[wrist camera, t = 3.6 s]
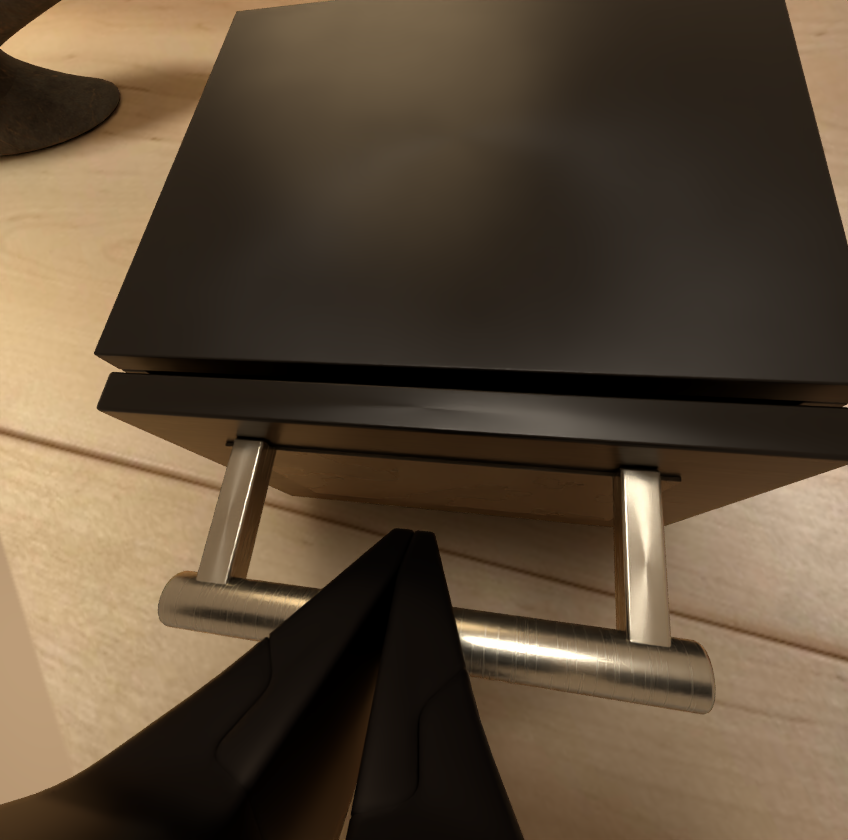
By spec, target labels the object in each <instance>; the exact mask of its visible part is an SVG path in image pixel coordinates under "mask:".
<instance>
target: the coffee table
mask: <svg viewBox="0 0 848 840" xmlns="http://www.w3.org/2000/svg"><path fill="white" fill-rule="evenodd" d="M60 1H61V0H0V46H1V45H2V44H3V43H4V42H6V41H7V40H8V39H9V38H10V37H11V36H13V35H14V34H15V33H16V32H18V31H19V30H20V29H22V28H23V27H24V26H26V25H27V24H28V23H30V22H31V21H32V20H34V19H35V18H37V17H38V16H39V15H41V14H42V13H44V12H45V11H47V10H48V9H49V8H51V7H52V6H54V5H55V4H57V3H58V2H60ZM119 99H120V93H119V90H118V88H117V87H116V86H115V85H114V84H113V83H111V82H109V81H106V80H103V79H99V78H92V77H84V76H77V75H71V74H66V73H62V72H57V71H53V70H49V69H46V68H42V67H39V66H35V65H32V64H29V63H26V62H23V61H21V60H18V59H16V58H13V57H12V56H10V55H8V54H6V53H5V52H3V51H2V50H1V49H0V155H11V154H18V153H23V152H29V151H34V150H38V149H42V148H46V147H49V146H52V145H55V144H58V143H61V142H64V141H66V140H69V139H71V138H74V137H76V136H78V135H80V134H82V133H84V132H86V131H88V130H90V129H92V128H93V127H95V126H96V125H98V124H99V123H101V122H102V121H103V120H105V119H106V118H107V117H108V116H109V115H110V114H111V113H112V112H113V110H114V109H115V108H116V107H117V104H118V102H119Z"/></svg>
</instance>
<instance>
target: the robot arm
mask: <svg viewBox="0 0 848 840" xmlns="http://www.w3.org/2000/svg"><path fill="white" fill-rule="evenodd" d="M356 783H357V784H356ZM355 787H356V789H355ZM354 790H355V794H354V800H353V805H352V810H351V819H350V821H349V826H348V831H347V836H346V840H524V837H523V835H522V832H521V830H520V827H519V824H518V822H517V819H516V816H515V814H514V811H513V809H512V806H511V803H510V801H509V798H508V795H507V793H506V790H505V787H504V785H503V782H502V780H501V777H500V774H499V772H498V769H497V766H496V764H495V761H494V758H493V756H492V753H491V750H490V747H489V744H488V741H487V738H486V735H485V732H484V729H483V726H482V723H481V720H480V717H479V713H478V709H477V706H476V702H475V698H474V695H473V691H472V687H471V683H470V678H469V674H468V671H467V670H466V663H465V658H464V654H463V650H462V646H461V642H460V637H459V633H458V629H457V625H456V620H455V616H454V612H453V608H452V604H451V599H450V595H449V591H448V587H447V583H446V578H445V574H444V570H443V566H442V562H441V557H440V553H439V549H438V545H437V541H436V536H435V534H434V533H433V532H428V531H419V530H417V531H415V532H414V531H413V530H410V529H401V528H395V529H393V530H392V531H390V532H389V533H388V534H387V535H386V536H384V537H383V538H382V539H381V540H380V541H378V542H377V543H376V544H375V545H374V546H373V547H371V548H370V549H369V550H368V551H367V552H365V553H364V554H363V555H362V556H361V557H360V558H358V559H357V560H356V561H355V562H354V563H352V564H351V565H350V566H349V567H348V568H346V569H345V570H344V571H343V572H342V573H341V574H339V575H338V576H337V577H336V578H335V579H333V580H332V581H331V582H330V583H329V584H327V585H326V586H325V587H324V588H323V589H322V590H320V591H319V592H318V593H317V594H316V595H314V596H313V597H312V598H311V599H310V600H309V601H307V602H306V603H305V604H304V605H303V606H301V607H300V608H299V609H298V610H297V611H295V612H294V613H293V614H292V615H291V616H290V617H288V618H287V619H286V620H285V621H284V622H282V623H281V624H280V625H279V626H278V627H277V628H275V629H274V630H273V631H272V632H271V633H270V634H269V638H268V637H264V638H263V639H262V640H261V641H260V642H258V643H257V644H256V645H255V646H254V647H253V648H251V649H250V650H249V651H248V652H247V653H245V654H244V655H243V656H242V657H240V658H239V659H238V660H237V661H235V662H234V663H233V664H232V665H230V666H229V667H228V668H227V669H225V670H224V671H223V672H222V673H220V674H219V675H218V676H216V677H215V678H214V679H212V680H211V681H210V682H208V683H207V684H206V685H204V686H203V687H202V688H200V689H199V690H197V691H196V692H195V693H193V694H192V695H191V696H189V697H188V698H187V699H185V700H184V701H182V702H181V703H180V704H178V705H177V706H175V707H174V708H173V709H171V710H170V711H168V712H167V713H165V714H164V715H163V716H161V717H160V718H158V719H157V720H156V721H154V722H153V723H151V724H150V725H149V726H147V727H146V728H144V729H143V730H142V731H140V732H139V733H137V734H136V735H135V736H133V737H132V738H130V739H129V740H127V741H126V742H125V743H123V744H122V745H120V746H119V747H118V748H116V749H115V750H113V751H112V752H111V753H109V754H108V755H106V756H105V757H103V758H102V759H100V760H99V761H97V762H96V763H94V764H93V765H91V766H90V767H88V768H87V769H85V770H83V771H82V772H80V773H78V774H76V775H75V776H73V777H71V778H69V779H67V780H65V781H63V782H61V783H59V784H57V785H55V786H53V787H51V788H48V789H46V790H43V791H41V792H39V793H36V794H33V795H30V796H27V797H24V798H21V799H18V800H14V801H11V802H8V803H4V804H2V805H0V840H339V837H340V834H341V830H342V827H343V824H344V821H345V818H346V815H347V812H348V808H349V805H350V802H351V799H352V796H353V793H354Z"/></svg>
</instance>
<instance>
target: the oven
mask: <svg viewBox="0 0 848 840" xmlns="http://www.w3.org/2000/svg"><path fill="white" fill-rule="evenodd" d="M94 355H96V356H98V357H99V358H101V359H103V360H105V361H106V362H108V363H110V364H112V365H113V366H115V367H117V368H118V369H122V370H123V371H125V372H126V373H144V374H165V375H185V376H206V377H227V378H248V379H269V380H289V381H310V382H331V383H352V384H372V385H393V386H414V387H435V388H455V389H476V390H497V391H518V392H538V393H559V394H580V395H601V396H621V397H642V398H663V399H684V400H705V401H725V402H746V403H767V404H788V405H808V406H829V407H843V406H845V405H847V404H848V244H847V240H846V236H845V232H844V228H843V224H842V220H841V216H840V213H839V209H838V205H837V201H836V197H835V193H834V189H833V185H832V181H831V178H830V174H829V170H828V166H827V162H826V158H825V154H824V150H823V146H822V143H821V139H820V135H819V131H818V127H817V123H816V119H815V115H814V111H813V108H812V104H811V100H810V96H809V92H808V88H807V84H806V80H805V76H804V73H803V69H802V65H801V61H800V57H799V53H798V49H797V45H796V41H795V38H794V34H793V30H792V26H791V22H790V18H789V14H788V10H787V6H786V3H785V0H332V1H323V2H314V3H306V4H297V5H288V6H280V7H271V8H262V9H254V10H245V11H237V12H236V14H235V17H234V19H233V21H232V24H231V26H230V29H229V31H228V33H227V36H226V38H225V41H224V43H223V45H222V48H221V50H220V53H219V55H218V57H217V60H216V62H215V65H214V67H213V69H212V72H211V74H210V76H209V79H208V81H207V84H206V86H205V88H204V91H203V93H202V96H201V98H200V100H199V103H198V105H197V108H196V110H195V112H194V115H193V117H192V120H191V122H190V124H189V127H188V129H187V131H186V134H185V136H184V139H183V141H182V143H181V146H180V148H179V151H178V153H177V155H176V158H175V160H174V163H173V165H172V167H171V170H170V172H169V175H168V177H167V179H166V182H165V184H164V187H163V189H162V191H161V194H160V196H159V198H158V201H157V203H156V206H155V208H154V210H153V213H152V215H151V218H150V220H149V222H148V225H147V227H146V230H145V232H144V234H143V237H142V239H141V242H140V244H139V246H138V249H137V251H136V253H135V256H134V258H133V261H132V263H131V265H130V268H129V270H128V273H127V275H126V277H125V280H124V282H123V285H122V287H121V289H120V292H119V294H118V297H117V299H116V301H115V304H114V306H113V309H112V311H111V313H110V316H109V318H108V320H107V323H106V325H105V328H104V330H103V332H102V335H101V337H100V340H99V342H98V344H97V347H96V349H95V352H94Z"/></svg>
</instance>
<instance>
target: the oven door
mask: <svg viewBox="0 0 848 840" xmlns="http://www.w3.org/2000/svg"><path fill="white" fill-rule="evenodd" d="M97 409H98V410H99V411H101V412H103V413H105V414H108V415H110V416H112V417H114V418H117V419H119V420H121V421H123V422H126V423H128V424H130V425H133V426H135V427H137V428H139V429H142V430H144V431H146V432H148V433H151V434H153V435H155V436H158V437H160V438H162V439H164V440H167V441H169V442H171V443H173V444H176V445H178V446H180V447H183V448H185V449H187V450H189V451H192V452H194V453H196V454H198V455H201V456H203V457H205V458H208V459H210V460H212V461H214V462H217V463H219V464H221V465H223V466H226V467H227V469H226V473H225V476H224V480H223V483H222V487H221V491H220V494H219V498H218V502H217V505H216V509H215V512H214V516H213V520H212V523H211V527H210V531H209V534H208V538H207V541H206V545H205V549H204V552H203V556H202V560H201V563H200V567H199V570H198V572H194V571H183V572H180V573H178V574H176V575H175V576H174V577H172V578H171V579H170V581H169V582H168V583H167V584H166V586H165V588H164V590H163V592H162V594H161V597H160V600H159V604H158V616H159V619H160V621H161V622H162V623H163V624H164V625H165V626H167V627H173V628H179V629H185V630H191V631H197V632H203V633H209V634H215V635H221V636H228V637H234V638H240V639H246V640H252V641H258V642H260V641H261V640H262V639H263V638H264V637H268V638H269V634H270V633H271V632H272V631H273V630H274V629H275V628H277V627H278V626H279V625H280V624H281V623H282V622H284V621H285V620H286V619H287V618H288V617H290V616H291V615H292V614H293V613H294V612H295V611H297V610H298V609H299V608H300V607H301V606H303V605H304V604H305V603H306V602H307V601H309V600H310V599H311V598H312V597H313V596H314V595H316V594H317V593H318V592H319V591H320V590H322V589H318V588H311V587H303V586H296V585H289V584H282V583H274V582H267V581H260V580H252V579H246V577H247V573H248V569H249V564H250V560H251V556H252V552H253V548H254V544H255V539H256V535H257V531H258V527H259V523H260V519H261V514H262V510H263V506H264V502H265V498H266V494H267V489H268V485H269V486H271V487H273V488H276V489H278V490H280V491H283V492H285V493H287V494H289V495H292V496H299V497H309V498H319V499H330V500H340V501H350V502H360V503H370V504H381V505H391V506H401V507H411V508H421V509H431V510H442V511H452V512H462V513H472V514H482V515H492V516H503V517H513V518H523V519H533V520H543V521H553V522H564V523H574V524H584V525H594V526H604V527H613V529H614V566H615V603H616V629H610V628H602V627H595V626H588V625H581V624H573V623H566V622H559V621H551V620H544V619H537V618H529V617H522V616H515V615H508V614H500V613H493V612H486V611H478V610H471V609H464V608H457V607H452V608H453V612H454V616H455V620H456V625H457V629H458V633H459V637H460V642H461V646H462V650H463V654H464V658H465V663H466V670H467V671H468V674H469V676H471V677H477V678H483V679H489V680H496V681H502V682H508V683H514V684H520V685H526V686H532V687H538V688H544V689H550V690H556V691H563V692H569V693H575V694H581V695H587V696H593V697H599V698H605V699H611V700H617V701H623V702H630V703H636V704H642V705H648V706H654V707H660V708H666V709H672V710H678V711H684V712H690V713H697V714H706V713H709V712H710V711H711V710H712V708H713V705H714V701H715V679H714V673H713V668H712V665H711V662H710V659H709V656H708V654H707V652H706V650H705V649H704V647H703V646H702V645H701V644H700V643H698V642H696V641H695V640H690V639H683V638H675V637H671V631H670V616H669V600H668V585H667V569H666V554H665V538H664V526H666V525H669V524H672V523H675V522H678V521H681V520H684V519H687V518H690V517H693V516H696V515H699V514H702V513H705V512H708V511H711V510H714V509H717V508H720V507H723V506H726V505H729V504H732V503H735V502H738V501H741V500H744V499H747V498H750V497H753V496H756V495H759V494H762V493H765V492H768V491H771V490H774V489H777V488H780V487H783V486H786V485H789V484H792V483H795V482H798V481H800V480H803V479H806V478H809V477H812V476H815V475H818V474H821V473H824V472H827V471H830V470H833V469H836V468H839V467H842V466H845V465H848V408H847V407H829V406H808V405H788V404H767V403H746V402H725V401H705V400H684V399H663V398H642V397H621V396H601V395H580V394H559V393H538V392H518V391H497V390H476V389H455V388H435V387H414V386H393V385H372V384H352V383H331V382H310V381H289V380H269V379H248V378H227V377H206V376H185V375H165V374H144V373H123V372H112V373H110V375H109V377H108V380H107V382H106V385H105V387H104V390H103V392H102V395H101V397H100V400H99V402H98V405H97Z"/></svg>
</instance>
